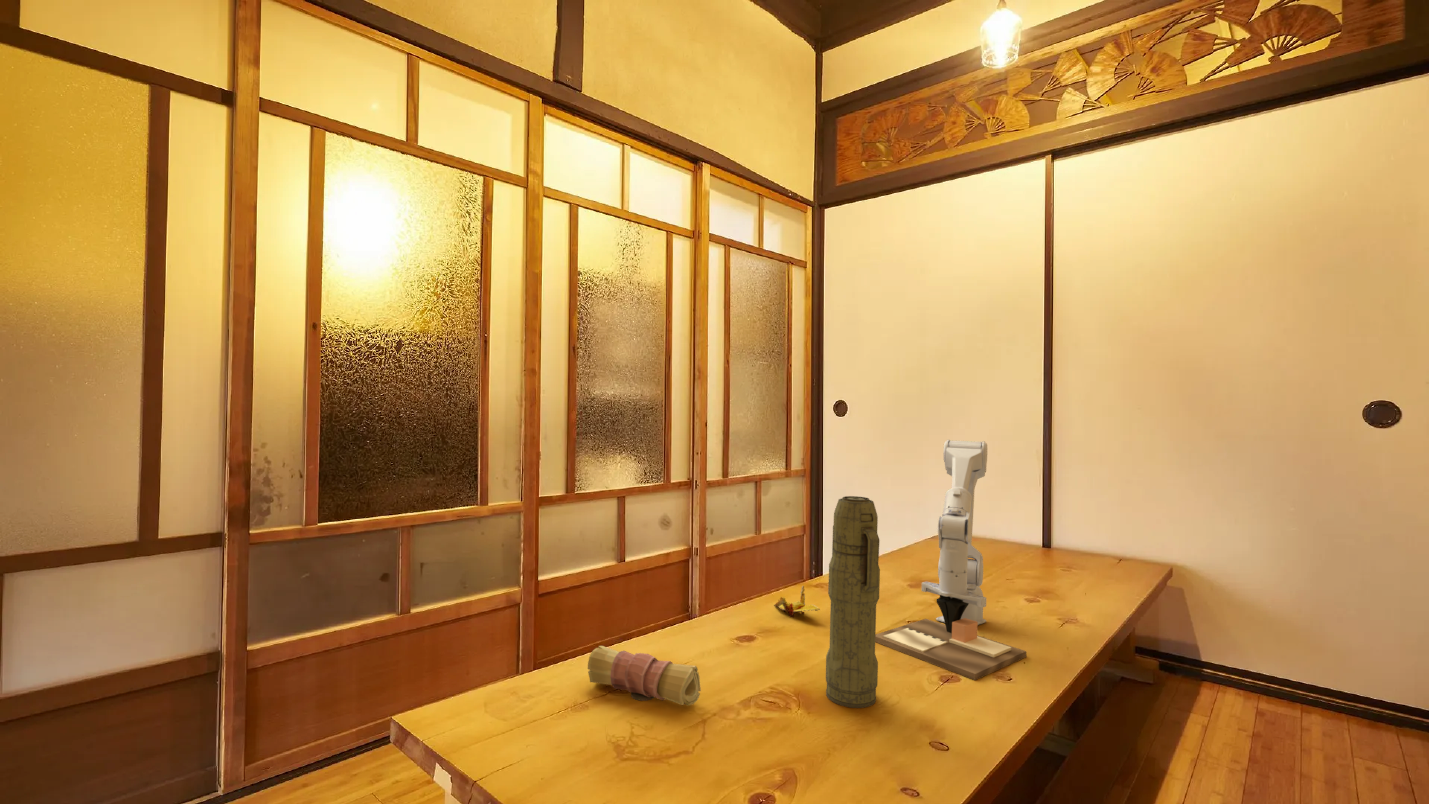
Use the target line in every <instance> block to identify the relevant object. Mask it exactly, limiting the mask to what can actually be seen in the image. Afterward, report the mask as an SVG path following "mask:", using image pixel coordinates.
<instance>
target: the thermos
mask: <svg viewBox="0 0 1429 804" xmlns="http://www.w3.org/2000/svg"><path fill="white" fill-rule="evenodd" d="M878 517H879V516H878V512H877V510H876V506H875V502H874V501H873V500H872V499H870V498H868V497H865V496H853V495H846V496H843V497H842V498H838V501H837V503H836V505H835V508H834V512H833V525H832V545H831V546H832V547H831V549H832V550H831V552H832V553H831V558H830V561H829V564H828V589H827V590H828V591H827V592H828V596H829V600H830V611H829V612H830V615H829V616H830V618H829V619H830V620H829V648H828V651H827V653H826V656H825V682H826V689H825V693H826V695H825V696H826V697H827V699H828V700H829V701H831V702H832V703H834V704H836V705H838V706H842V707H846V708H852V709H854V708H855V709H862V708H863V709H864V708H868V707H871V706H873V705H874V704H875V703H876V701H877V687H878V677H879V676H878V675H879V671H878V670H879V662H878V658H877V655H876V642H875V634H877V633H876V629H877V627H876V625H877V604H878V601H879V599H880V584H881V583H880V582H881V581H880V579H881V578H880V577H881V575H880V574H881V569H880V565H879V561H880V560H879V558H880V557H879V556H880V538H879V534H878V522H879V520H878Z"/></svg>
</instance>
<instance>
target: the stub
mask: <svg viewBox="0 0 1429 804" xmlns="http://www.w3.org/2000/svg"><path fill="white" fill-rule="evenodd" d="M978 626H979V625H978V622H977V621H973V620H970V619H967V618H963V619H960V620H957V621H954V622H952V638H951V639H949V642H950V643H953V644H956V645H959V646H962V647H965V648H967V649H970V650H973V651H976V652H979V653H982V654H985V655H988V656H991V657H996V656H999V655H1001V654H1003V653H1006V652H1008V651H1010V650H1011V647H1009V646H1010V645H1009V646H1006V645H1007V644H1006V645H1003V644H1004V643H1003V644H1000V643H1001V642H1000V643H996V642H993V641H990V640H991V639H990V640H987V639H988V638H987V639H984V638H985V637H984V638H981V637H982V636H981V637H978V636H979V635H978ZM977 635H978V636H977Z"/></svg>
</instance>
